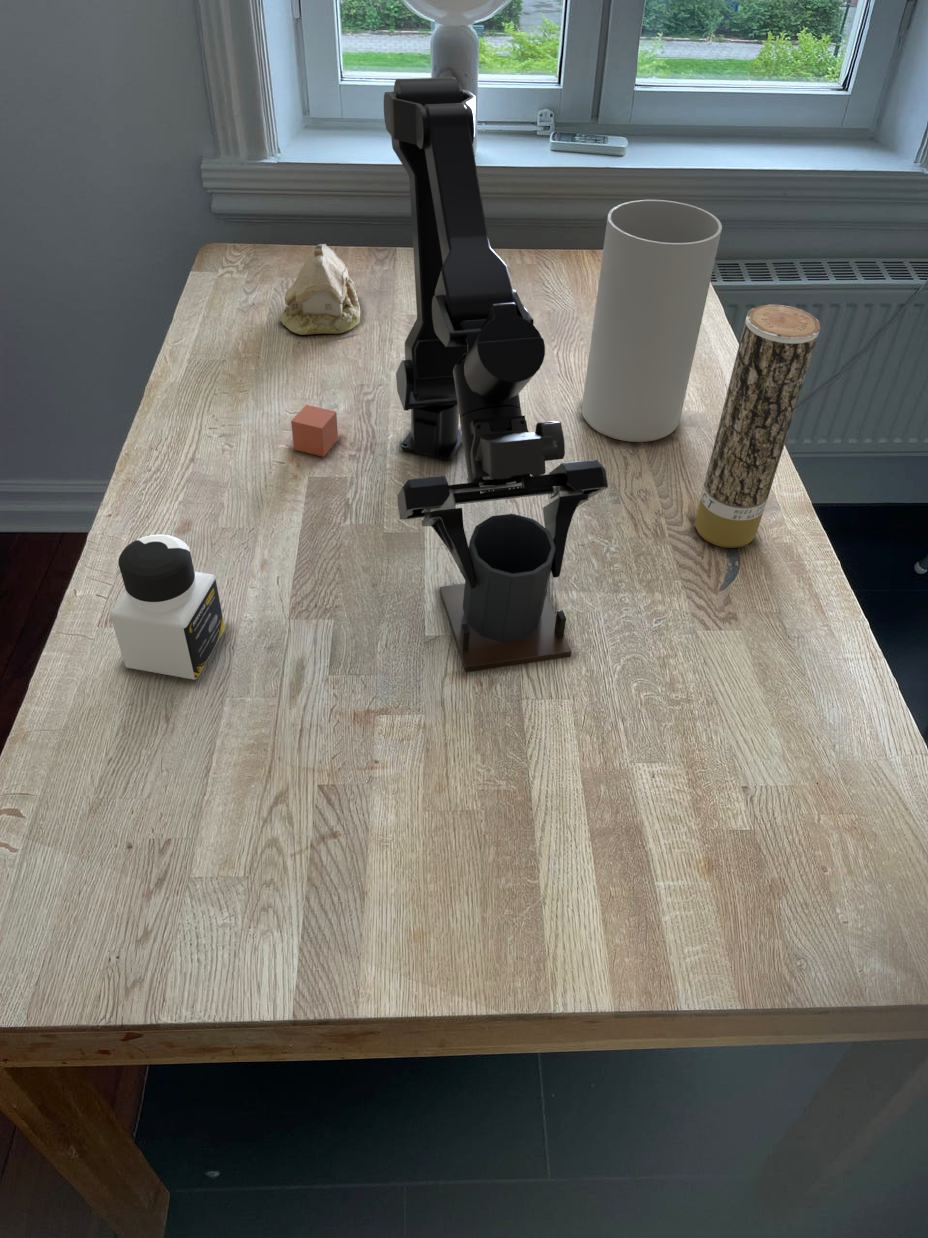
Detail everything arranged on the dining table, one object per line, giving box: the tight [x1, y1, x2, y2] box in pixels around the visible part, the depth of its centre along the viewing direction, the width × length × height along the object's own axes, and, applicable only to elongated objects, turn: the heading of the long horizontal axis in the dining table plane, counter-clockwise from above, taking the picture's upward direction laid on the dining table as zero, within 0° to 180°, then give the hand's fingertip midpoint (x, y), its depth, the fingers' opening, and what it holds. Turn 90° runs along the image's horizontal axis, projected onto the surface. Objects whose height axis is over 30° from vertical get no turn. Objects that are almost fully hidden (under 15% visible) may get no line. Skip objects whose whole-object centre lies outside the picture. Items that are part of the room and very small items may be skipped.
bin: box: [463, 513, 556, 642], centre depth 92 cm, size 8×8×10 cm
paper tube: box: [694, 304, 821, 549], centre depth 99 cm, size 7×7×25 cm
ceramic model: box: [280, 243, 361, 336], centre depth 138 cm, size 14×11×10 cm
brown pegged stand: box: [438, 583, 572, 673], centre depth 95 cm, size 11×10×3 cm
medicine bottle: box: [109, 534, 226, 680], centre depth 88 cm, size 7×7×12 cm
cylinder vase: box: [581, 199, 723, 443], centre depth 116 cm, size 12×12×25 cm
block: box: [290, 404, 339, 458], centre depth 116 cm, size 4×4×4 cm
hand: (514, 582), depth 89 cm, fingers closed on bin, 8 cm apart
